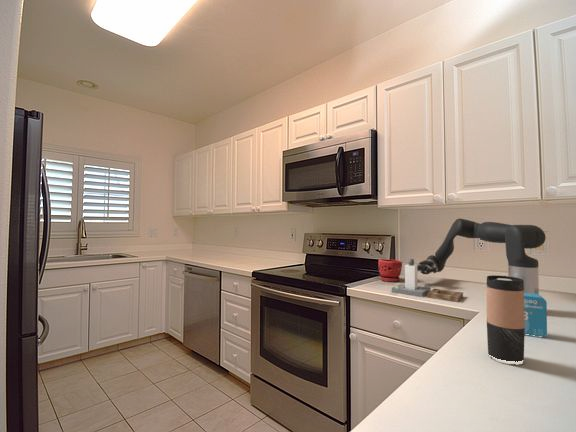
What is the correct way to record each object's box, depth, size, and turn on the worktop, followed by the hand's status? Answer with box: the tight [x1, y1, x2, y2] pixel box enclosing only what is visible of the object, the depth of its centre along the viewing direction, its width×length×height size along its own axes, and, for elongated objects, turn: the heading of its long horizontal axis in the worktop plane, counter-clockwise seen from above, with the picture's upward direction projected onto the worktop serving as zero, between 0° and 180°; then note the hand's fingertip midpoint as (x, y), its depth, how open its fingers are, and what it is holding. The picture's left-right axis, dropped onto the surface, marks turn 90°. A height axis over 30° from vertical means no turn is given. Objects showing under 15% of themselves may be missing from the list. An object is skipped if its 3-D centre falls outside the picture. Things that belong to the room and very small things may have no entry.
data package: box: [524, 293, 548, 338], centre depth 91 cm, size 12×4×12 cm, turn 60°
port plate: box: [391, 283, 432, 298], centre depth 144 cm, size 14×14×3 cm
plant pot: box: [377, 258, 403, 283], centre depth 173 cm, size 13×13×12 cm
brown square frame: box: [426, 288, 464, 303], centre depth 134 cm, size 12×12×2 cm
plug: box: [404, 258, 419, 290], centre depth 144 cm, size 4×4×16 cm
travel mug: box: [486, 274, 526, 362], centre depth 74 cm, size 8×8×20 cm
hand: (418, 270), depth 153 cm, fingers open, 8 cm apart
